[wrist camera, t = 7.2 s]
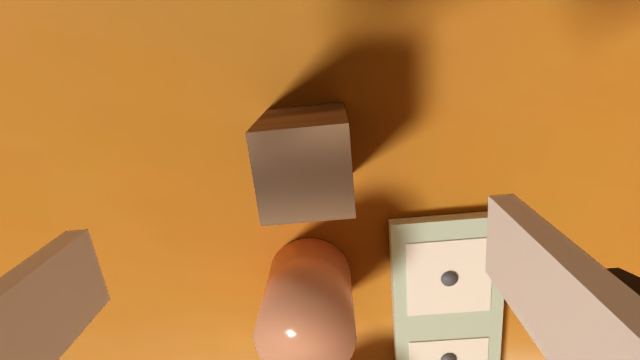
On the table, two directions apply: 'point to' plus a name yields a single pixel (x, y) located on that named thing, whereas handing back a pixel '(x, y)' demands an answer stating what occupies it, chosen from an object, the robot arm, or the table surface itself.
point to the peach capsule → (307, 305)
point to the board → (443, 289)
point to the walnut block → (302, 164)
